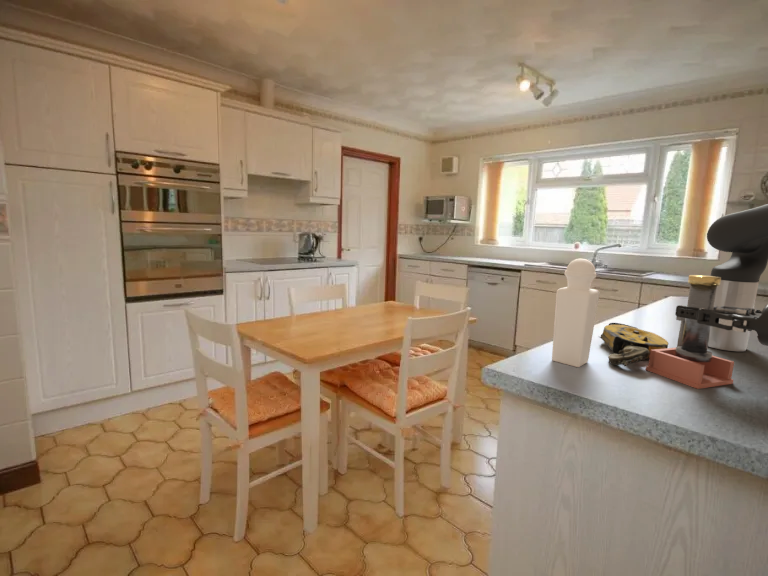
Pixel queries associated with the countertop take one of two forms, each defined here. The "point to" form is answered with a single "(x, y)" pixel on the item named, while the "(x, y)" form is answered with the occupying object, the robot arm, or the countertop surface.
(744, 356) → the countertop surface
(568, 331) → the white square bottle
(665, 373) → the keeper bracket
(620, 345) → the pulley block
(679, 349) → the tie-down post
